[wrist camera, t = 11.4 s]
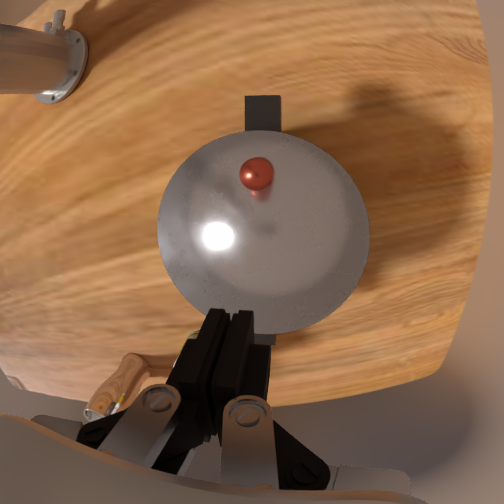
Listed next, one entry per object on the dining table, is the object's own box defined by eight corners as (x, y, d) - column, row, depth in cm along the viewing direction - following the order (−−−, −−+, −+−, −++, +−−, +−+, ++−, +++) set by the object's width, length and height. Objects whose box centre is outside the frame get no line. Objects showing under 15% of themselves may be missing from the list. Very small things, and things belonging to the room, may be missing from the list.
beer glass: (160, 378, 49) (127, 439, 36) (132, 378, 51) (98, 433, 37) (142, 349, 47) (102, 410, 33) (115, 352, 49) (74, 406, 35)
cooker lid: (156, 136, 24) (138, 137, 21) (374, 137, 21) (385, 136, 18) (174, 317, 31) (163, 335, 28) (351, 331, 28) (355, 351, 25)
